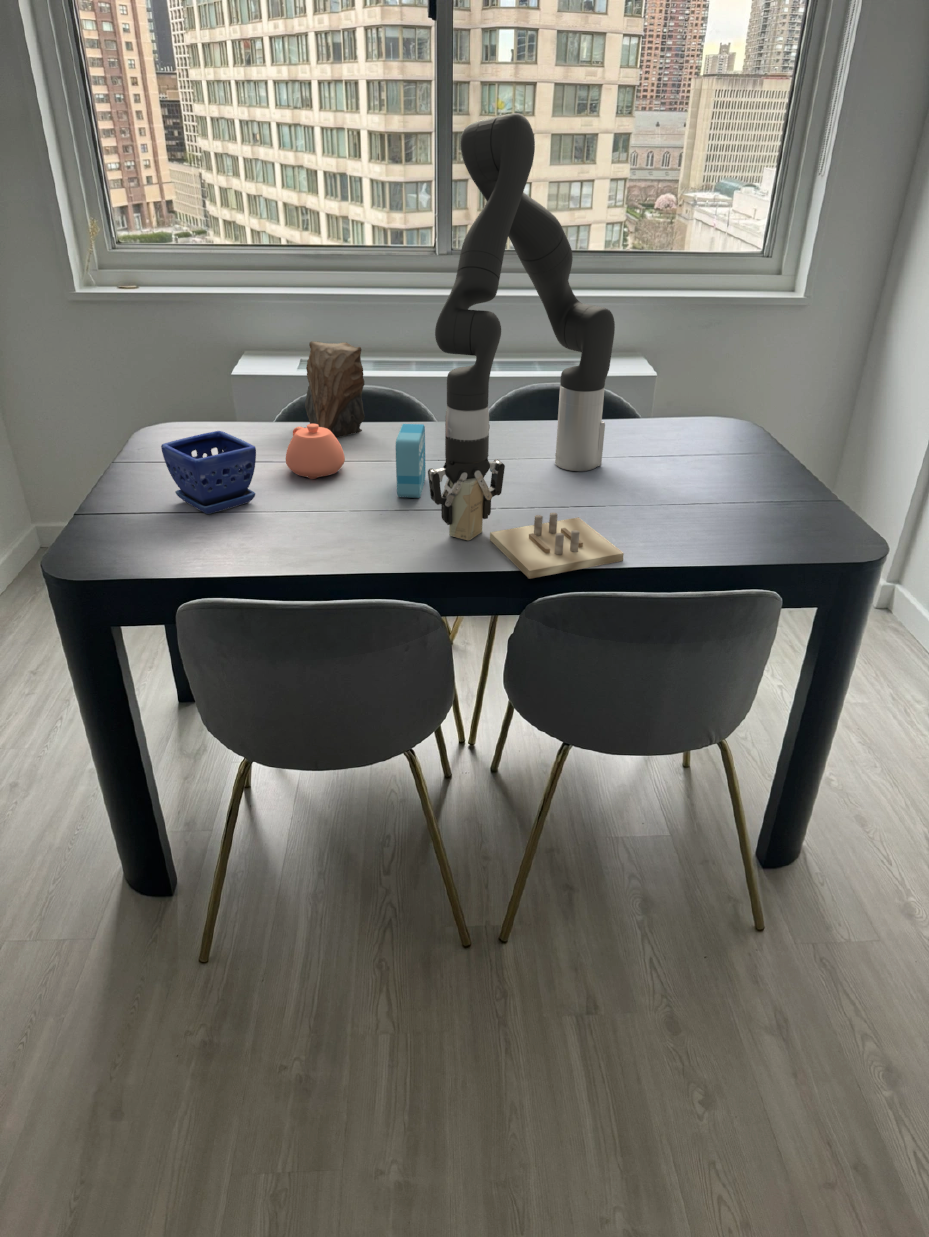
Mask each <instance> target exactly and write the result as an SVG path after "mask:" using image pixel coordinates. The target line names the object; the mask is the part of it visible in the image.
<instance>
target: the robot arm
mask: <svg viewBox="0 0 929 1237" xmlns="http://www.w3.org/2000/svg"><path fill="white" fill-rule="evenodd" d="M535 142H536V141H535V135H534V131H533V128H532V125H531V124H530V122H529V119H527V117H525V115H523V114H522V113H517V112H515V113H513V112H512V113H507V114H502V115H497V116H493V117H489V118H485V119H484V118H483V119H481V120H478V121H474V122H471V123H470V124H467V126H465V127H464V129H463V131H462V133H461V136H460V151H461V156H462V161H463V162H464V166H465V168H466V170H467V173H468V175H469V176H470V178H471V179H472V182H473V183H474V184H475V186H476V187H477V189H478V190H479V192H480V194H481V195H482V196H483V197H484V199H485V201H486V203H485V205H484V207H483V208H482V210H481V211H480V212H479V214H478V216H477V217H476V218H475V220H474V222H473V223H472V225H471V226H470V227H469V230H468V231H467V233H466V235H465V237H464V240H463V242H462V246H461V249H460V254H459V260H458V265H457V270H456V277H455V279H454V280H455V281H454V283H453V286H452V287H451V291H450V293H449V295H448V297H447V300H446V301H445V303H444V304H443V307H442V309H441V311H440V313H439V315H438V317H437V321H436V325H435V329H434V331H435V332H434V339H435V342H436V345H437V346H438V348H439V349H440V350H441V352H443V353H446V354H450V355H451V354H452V355H462V356H474V357H475V356H476V359H475V362H474V364H472V365H467V366H460V367H456V368H453V369H451V370H450V371H449V372H448V373H447V377H446V411H445V416H444V417H445V418H444V422H445V423H444V424H445V425H444V426H445V427H444V428H445V430H444V433H445V434H444V437H445V438H444V444H445V446H444V448H445V449H444V453H445V454H444V456H445V462H444V465H443V467H441V468H437V469H434V468H429V469H427V476H428V485H429V494H430V498H431V500H432V501H433V502H434V503H435V504H436V505H437V506H439V505H440V506H441V508H440V509H441V510H440V511H441V519H442V521H443V522H444V523H445V524H446V525H447V526H449V525H452V505H451V503H452V501H453V499H454V497H455V496H457V494H458V492H459V490H460V488H461V485H462V482H464V481H465V480H466V479H471V478H476V480H477V481H478V484H479V486H480V488H481V491H482V492H483V520H486V519H488V518H489V516H490V515H491V513H492V499H493V497H495V496H500V495H501V494H502V490H503V482H504V476H505V468H506V466H505V463H503V462H502V461H501V460H499V459H497V458H495V459H494V460H493V461H489V449H490V448H489V446H490V445H489V443H490V441H489V440H490V413H489V392H490V391H489V389H490V388H489V386H490V377H491V371H492V367H493V362H494V359H495V356H496V353H497V351H498V347H499V343H500V341H501V337H502V336H501V335H502V325H501V321H500V320H499V317H498V316H497V315H496V314H495V313H494V312H493V311H489V310H483V309H482V310H479V309H478V310H477V309H470V308H471V307H472V306H475V305H478V304H483V303H488V302H490V301H492V300H494V299H495V298H496V296H497V293H498V289H499V286H500V285H499V283H500V279H501V274H502V268H503V261H504V255H505V251H506V247H507V242H508V239H509V241H510V242H511V244H512V247H513V248H514V250H515V253H516V255H517V257H518V259H519V261H520V263H521V264H522V266H523V268H524V270H525V272H526V273H527V275H528V277H529V278H530V281H531V282H532V284H533V287H534V288H535V290H536V292H537V293H536V294H537V295H538V297H539V298H540V301H541V302H542V305H543V307H544V309H545V313H546V315H547V318H548V320H549V323H550V326H551V329H552V331H553V334H554V336H555V337H556V339H557V341H558V343H559V344H560V345H561V346H562V347H564V348H565V349H567V350H570V351H573V352H578V353H580V354H581V356H580V360H579V363H578V365H575V366H570V367H566V368H565V369H563V370H562V372H561V373H560V382H559V396H558V397H559V400H558V410H557V411H558V414H557V429H556V445H555V455H554V456H555V458H554V459H555V460H554V464H555V466H557V467H558V468H560V469H563V470H567V471H571V472H572V471H573V472H586V471H592V470H594V469H596V468H597V467H601V466H602V461H603V451H604V442H605V441H604V440H605V430H606V423H605V422H604V421H602V420H603V410H604V398H605V397H604V396H605V389H606V388H605V385H606V379H607V376H608V374H609V371H610V367H611V360H612V353H613V352H612V351H613V346H614V340H615V328H616V324H615V323H616V322H615V318H614V315H613V313H612V311H611V310H610V309H608V308H606V307H603V306H598V305H593V304H588V303H584V302H581V301H580V300H579V299H578V298H577V297H576V295H575V294H574V292H573V290H572V288H571V285H570V282H569V279H570V275H571V271H572V268H573V267H572V265H573V249H572V247H571V244H570V241H569V239H568V237H567V235H566V233H565V230H564V228H563V227H562V224H561V222H560V221H559V219H558V218H557V217H556V216H555V215H554V214H553V213H552V212H551V211H550V210H549V209H548V208H546V207H545V206H544V205H542V204H541V203H539V202H538V201H537V200H535V199H534V198H533V197H531V196H529V195H528V194H527V193H525V188H526V185H527V183H528V181H529V177H530V173H531V170H532V166H533V164H534V158H535V148H536V146H535V145H536V143H535ZM489 471H490V473H491V476H490V486H488V484H487V482H486V480H485V476H486V475H487V473H488V472H489ZM444 476H445V477H447V480H446V482H445V485H444V489H443V491H442V490H441V483H442V482H443V477H444ZM450 481H451V482H452V483H453V484H454V486H453V488H451V487H450Z"/></svg>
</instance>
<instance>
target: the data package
mask: <svg viewBox="0 0 929 1237" xmlns="http://www.w3.org/2000/svg"><path fill="white" fill-rule="evenodd" d="M398 431H399V432H398V434H397V437H396V440H395V469H396V470H395V471H396V472H395V474H396V494H397V495H396V497H397V498H411V499H413V498H414V499H415V498H416V499H418V498H421V496H422V492H423V488H424V485H425V480H426V426H425V424H423V423H421V424H419V423H418V424H417V423H402V424H401V427H400V430H398Z"/></svg>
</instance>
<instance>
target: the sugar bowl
mask: <svg viewBox="0 0 929 1237" xmlns="http://www.w3.org/2000/svg"><path fill="white" fill-rule="evenodd" d="M285 452H286V453H285V464H286V466H287V468H289V470H290V471H292V472H293V473H294V474H296V475H297V476H300V477H301V476H302V477H306V478H308V479H310V480H316V479H318V478H320V477H326V476H327V477H328V476H330V475H333V474H336V473H337V472H338V471H340V469H341V468H342V467H343V465H344V463H345V460H346V459H345V458H346V457H345V453H344V449H343V447H342V445H341V443H340V441H339V440H338V438H336V437H335V436H334V434H333V433H332V432H331V431H330V430H329V429H327V428H323V427H319V425H318V424H310V423H309V424H307V425H306V427H302V426H296V427H294V429H292V438H291V440H290V441H289V443H288V446H287V449H286V451H285Z"/></svg>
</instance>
